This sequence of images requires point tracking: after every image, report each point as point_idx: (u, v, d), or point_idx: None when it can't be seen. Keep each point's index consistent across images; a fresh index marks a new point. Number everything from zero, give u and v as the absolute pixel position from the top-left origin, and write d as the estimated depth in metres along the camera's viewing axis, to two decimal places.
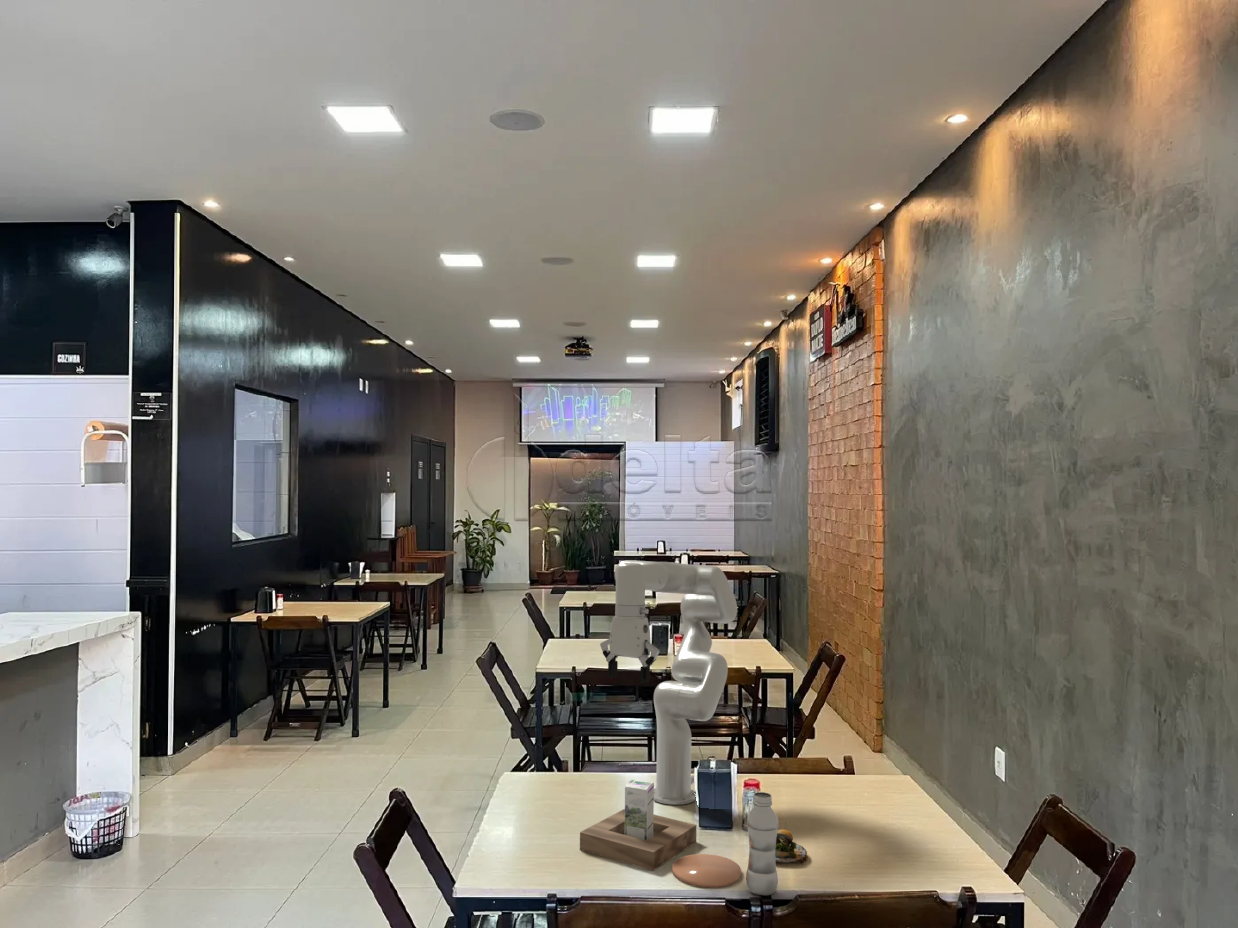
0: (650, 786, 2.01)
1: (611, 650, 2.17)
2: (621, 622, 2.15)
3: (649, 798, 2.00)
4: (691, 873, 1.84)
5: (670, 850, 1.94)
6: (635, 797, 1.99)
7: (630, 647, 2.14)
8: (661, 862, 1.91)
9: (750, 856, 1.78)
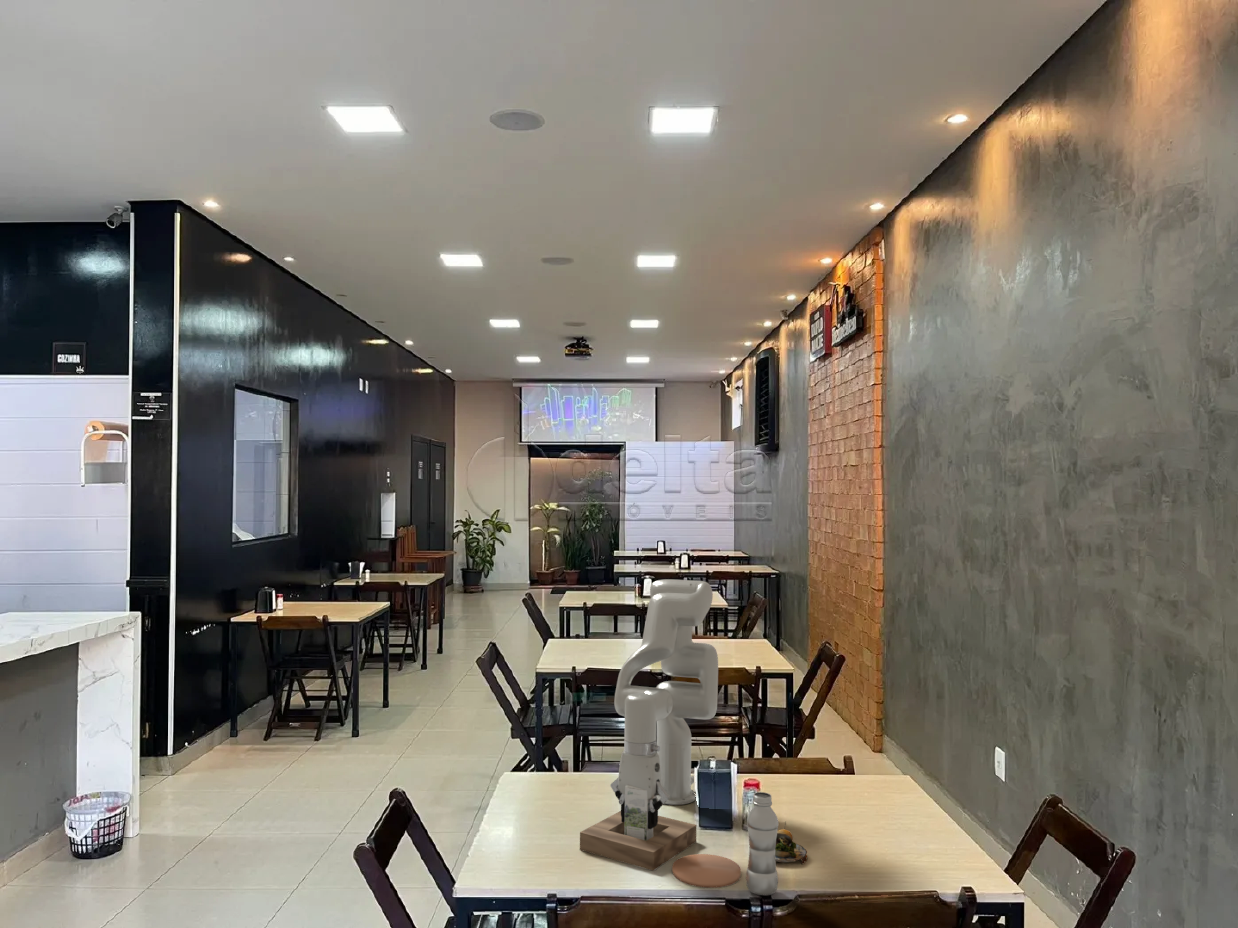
0: None
1: (620, 788, 2.03)
2: (631, 759, 2.01)
3: None
4: (691, 873, 1.84)
5: (670, 850, 1.94)
6: (635, 797, 1.99)
7: (641, 787, 1.99)
8: (661, 862, 1.91)
9: (750, 856, 1.78)
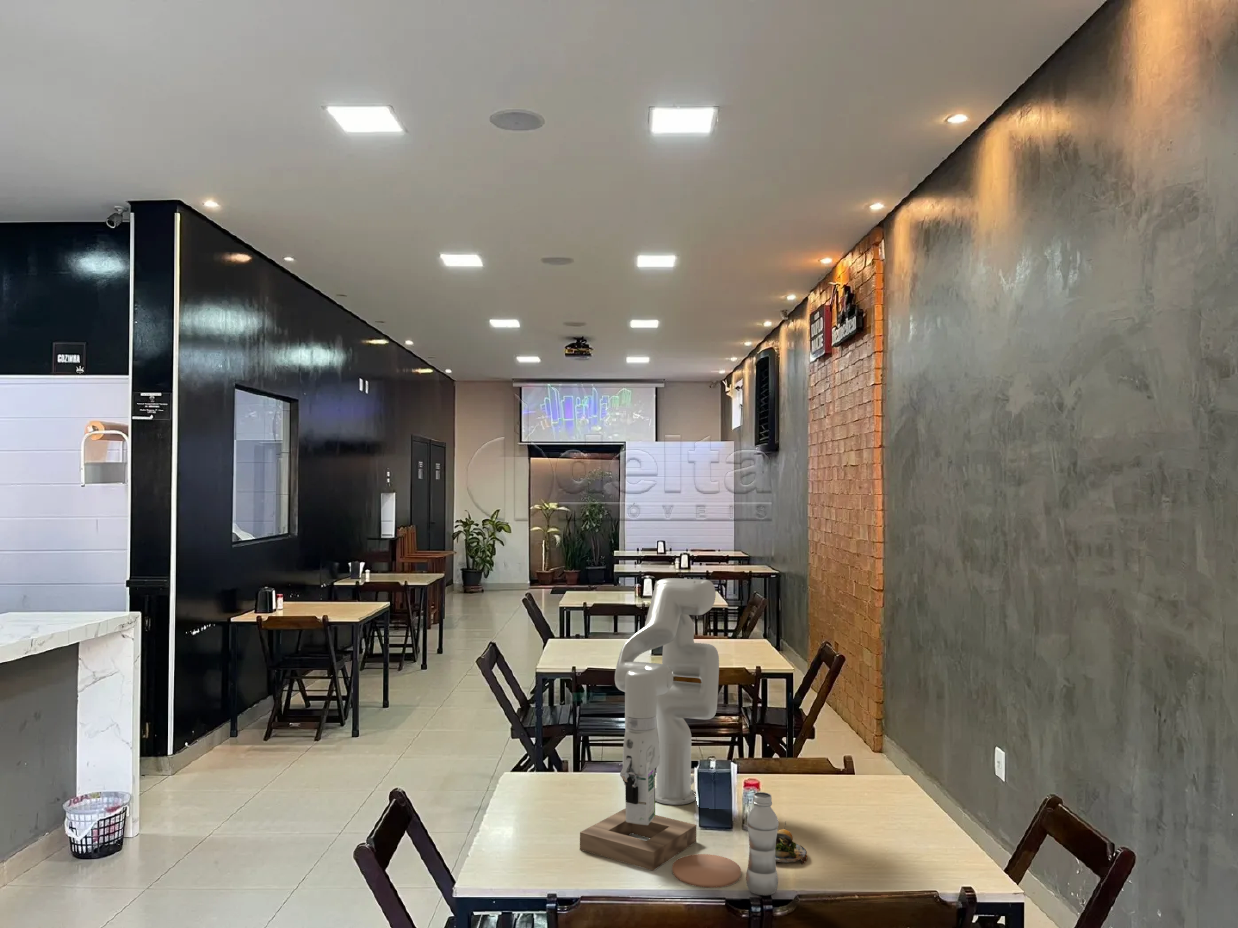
0: None
1: None
2: None
3: None
4: (691, 873, 1.84)
5: (670, 850, 1.94)
6: None
7: None
8: (661, 862, 1.91)
9: (750, 856, 1.78)
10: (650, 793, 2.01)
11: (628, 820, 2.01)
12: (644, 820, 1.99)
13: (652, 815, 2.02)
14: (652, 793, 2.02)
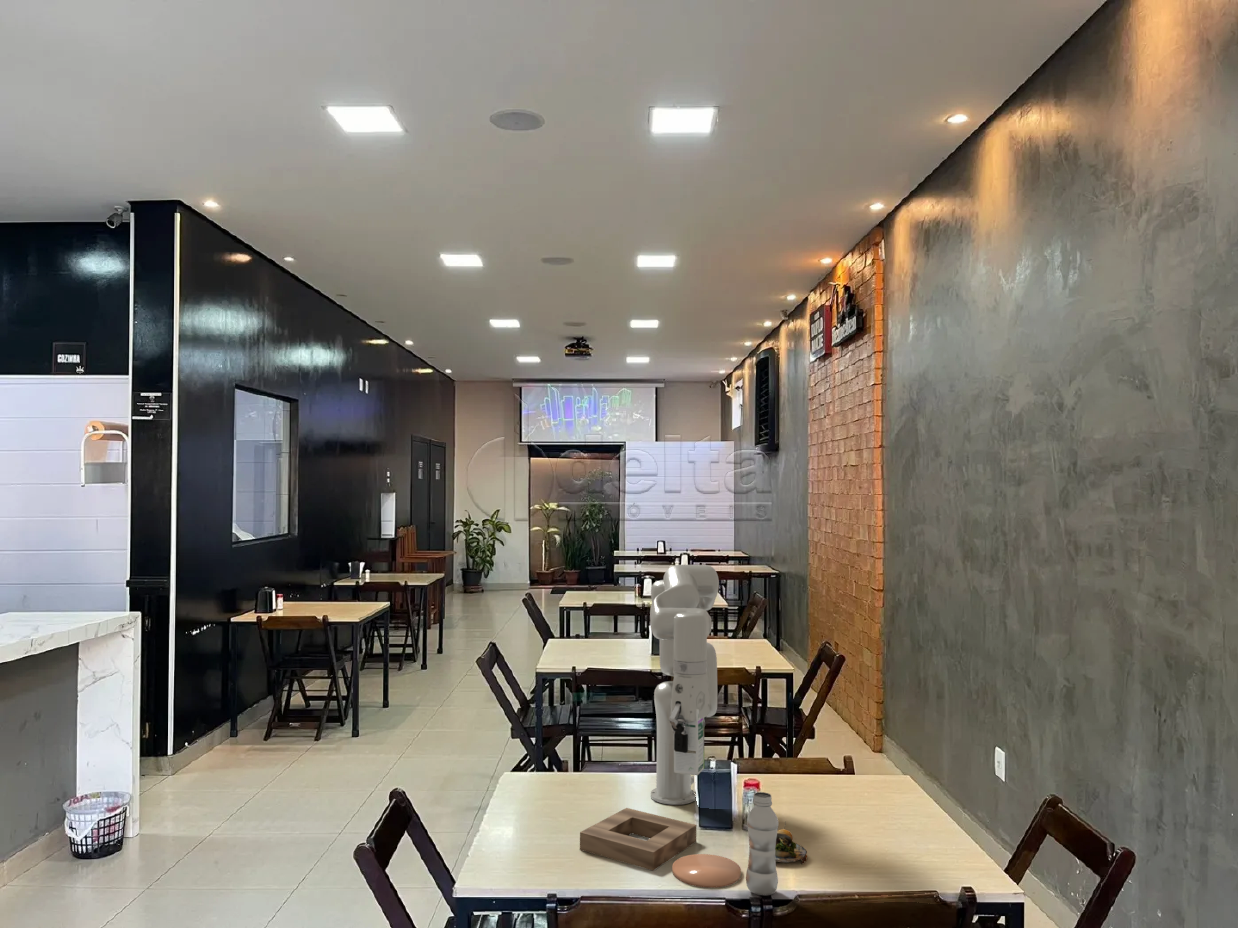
0: None
1: None
2: None
3: None
4: (691, 873, 1.84)
5: (670, 850, 1.94)
6: None
7: None
8: (661, 862, 1.91)
9: (750, 856, 1.78)
10: (700, 742, 1.91)
11: (676, 770, 1.90)
12: (693, 770, 1.89)
13: (701, 766, 1.91)
14: (702, 742, 1.92)
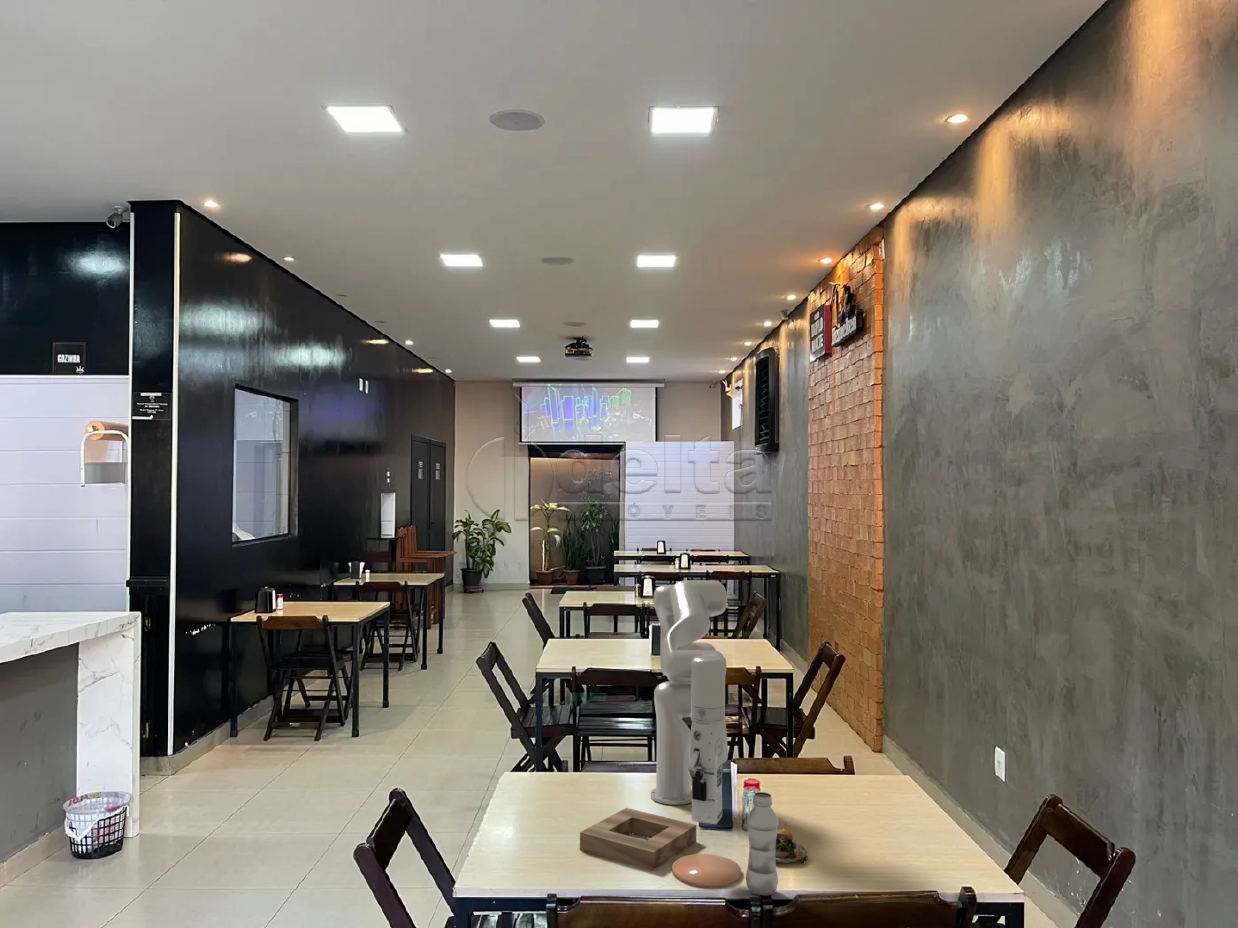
0: None
1: None
2: None
3: None
4: (691, 873, 1.84)
5: (670, 850, 1.94)
6: None
7: None
8: (661, 862, 1.91)
9: (750, 856, 1.78)
10: (719, 789, 1.86)
11: (695, 819, 1.86)
12: (712, 818, 1.85)
13: (720, 814, 1.87)
14: (720, 790, 1.88)
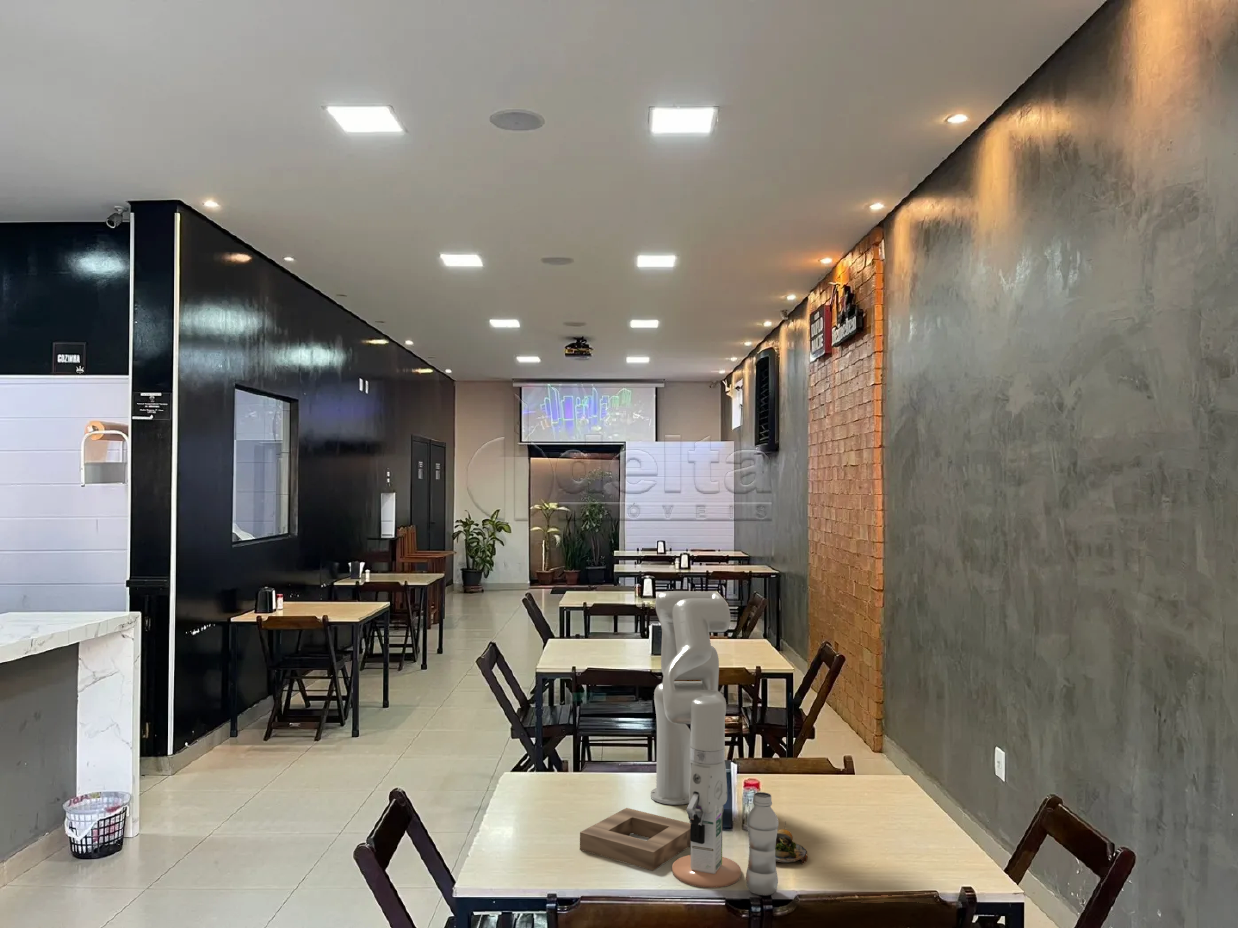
0: None
1: None
2: None
3: None
4: (691, 873, 1.84)
5: (670, 850, 1.94)
6: None
7: None
8: (661, 862, 1.91)
9: (750, 856, 1.78)
10: (718, 839, 1.86)
11: (693, 867, 1.86)
12: (710, 868, 1.84)
13: (719, 863, 1.87)
14: (719, 839, 1.87)
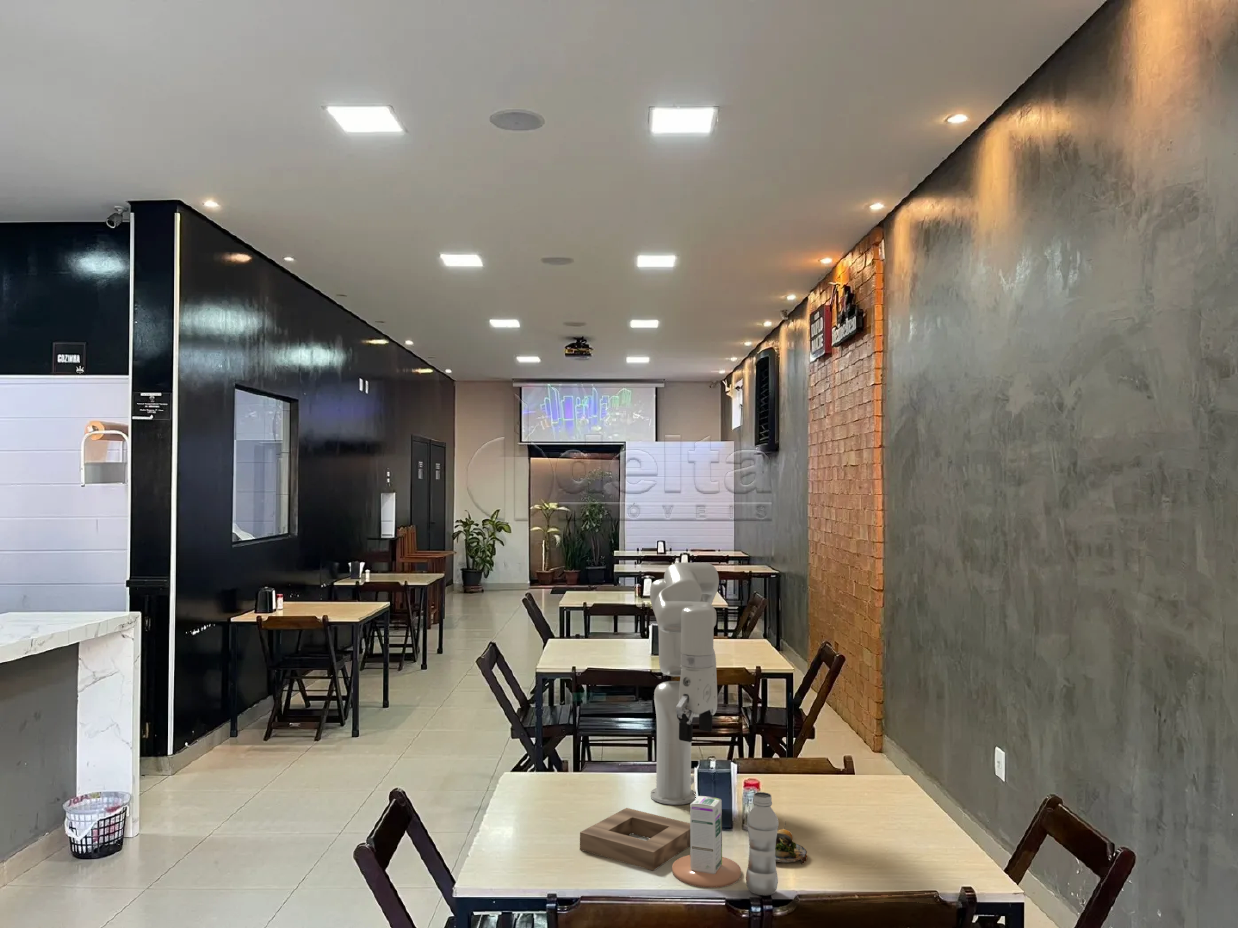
0: (702, 805, 1.86)
1: None
2: None
3: (696, 816, 1.86)
4: (691, 873, 1.84)
5: (670, 850, 1.94)
6: None
7: None
8: (661, 862, 1.91)
9: (750, 856, 1.78)
10: (718, 839, 1.86)
11: (693, 868, 1.86)
12: (710, 868, 1.84)
13: (719, 863, 1.87)
14: (719, 839, 1.87)
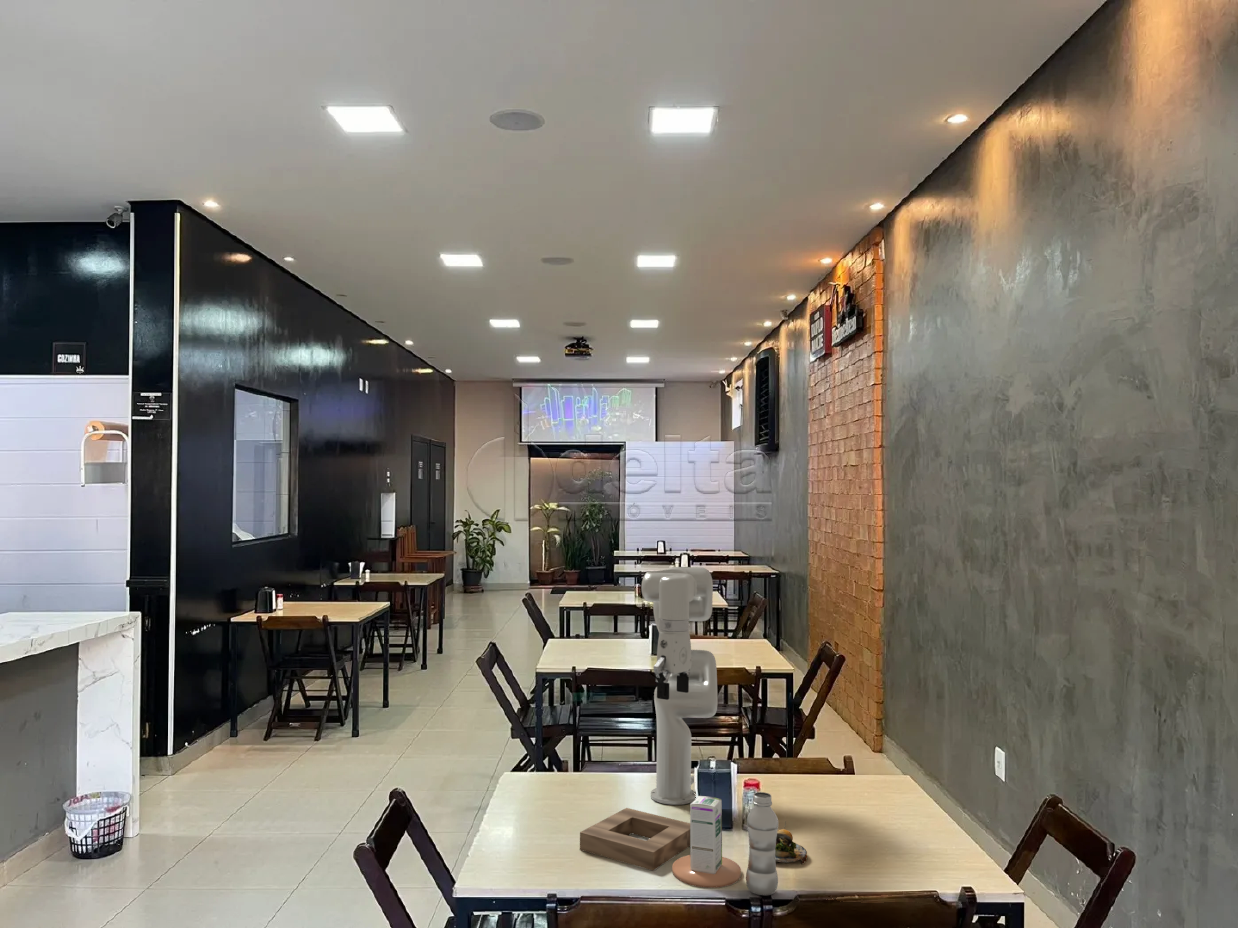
0: (702, 805, 1.86)
1: None
2: None
3: (696, 816, 1.86)
4: (691, 873, 1.84)
5: (670, 850, 1.94)
6: None
7: None
8: (661, 862, 1.91)
9: (750, 856, 1.78)
10: (718, 839, 1.86)
11: (693, 868, 1.86)
12: (710, 868, 1.84)
13: (719, 863, 1.87)
14: (719, 839, 1.87)
